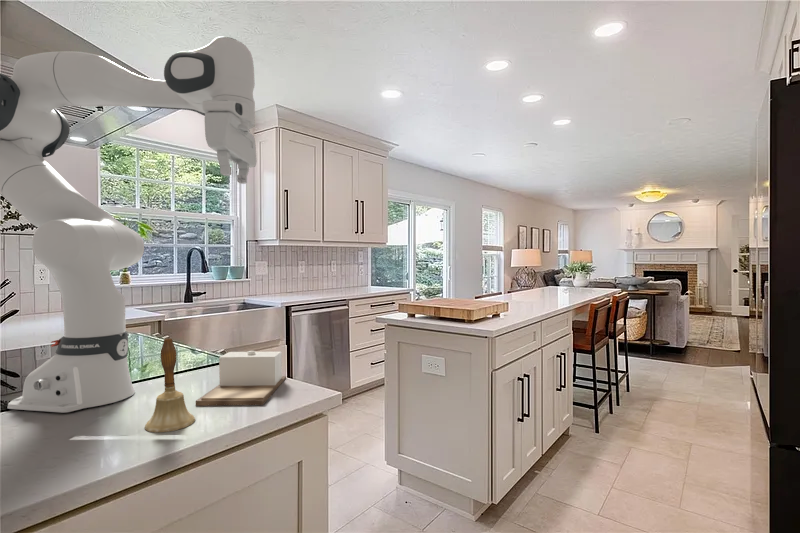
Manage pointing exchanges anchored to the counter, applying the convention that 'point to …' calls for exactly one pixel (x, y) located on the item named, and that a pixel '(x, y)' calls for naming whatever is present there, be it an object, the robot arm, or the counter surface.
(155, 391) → the counter surface
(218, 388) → the board
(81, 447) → the counter surface
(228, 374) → the lid
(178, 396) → the hand bell
